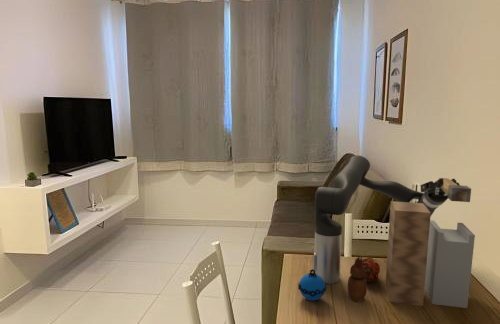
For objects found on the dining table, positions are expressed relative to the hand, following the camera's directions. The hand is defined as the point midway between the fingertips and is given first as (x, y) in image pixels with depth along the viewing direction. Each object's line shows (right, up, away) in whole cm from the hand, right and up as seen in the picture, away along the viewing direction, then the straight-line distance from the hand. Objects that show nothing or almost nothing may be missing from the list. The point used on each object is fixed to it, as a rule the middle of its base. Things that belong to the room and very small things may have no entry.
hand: (448, 181), depth 122 cm
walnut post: (-15, -37, -1) cm, 40 cm away
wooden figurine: (-31, -38, -3) cm, 49 cm away
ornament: (-46, -38, -3) cm, 59 cm away
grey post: (-2, -38, -1) cm, 38 cm away
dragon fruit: (-24, -36, +11) cm, 44 cm away
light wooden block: (-1, -4, -4) cm, 5 cm away
